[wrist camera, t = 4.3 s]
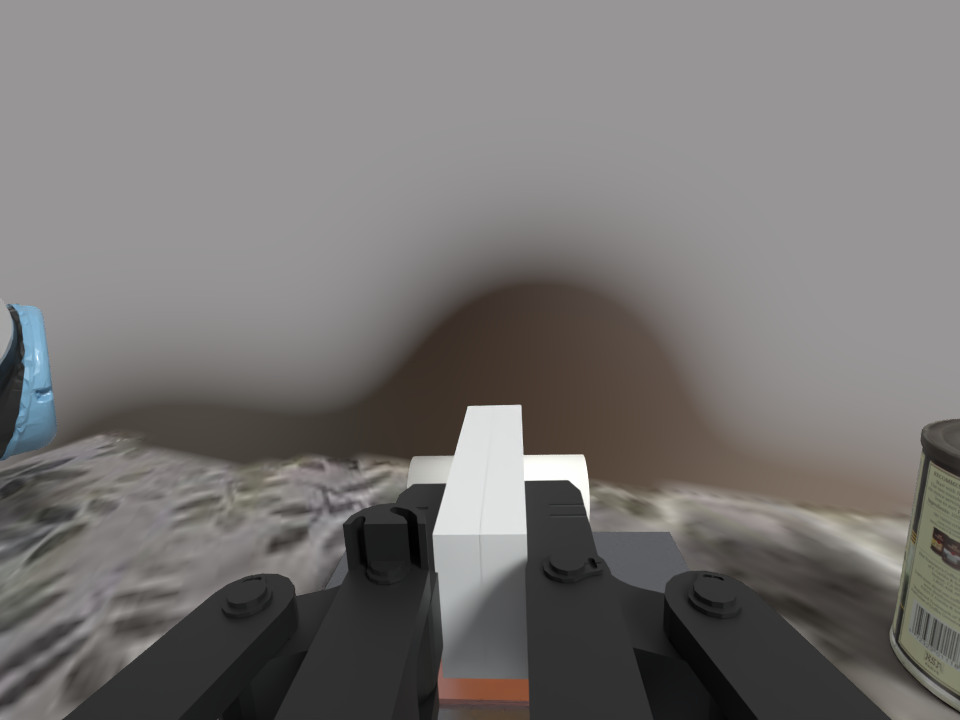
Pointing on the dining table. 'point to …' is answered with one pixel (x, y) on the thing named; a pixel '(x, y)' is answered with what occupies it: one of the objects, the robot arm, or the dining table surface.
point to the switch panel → (505, 702)
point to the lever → (534, 469)
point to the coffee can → (933, 569)
